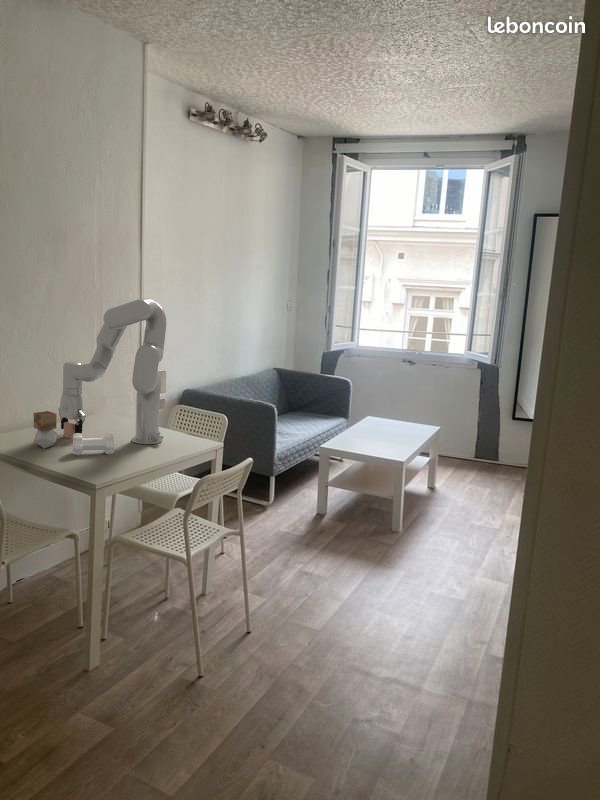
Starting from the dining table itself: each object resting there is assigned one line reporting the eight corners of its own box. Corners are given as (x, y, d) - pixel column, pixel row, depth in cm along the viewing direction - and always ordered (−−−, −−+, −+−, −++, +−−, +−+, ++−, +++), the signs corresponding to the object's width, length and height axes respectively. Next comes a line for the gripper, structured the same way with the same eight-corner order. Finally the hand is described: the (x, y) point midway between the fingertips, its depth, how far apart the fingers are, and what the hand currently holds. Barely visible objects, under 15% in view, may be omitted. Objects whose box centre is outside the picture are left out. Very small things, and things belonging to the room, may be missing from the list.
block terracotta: (81, 436, 266) (81, 423, 265) (70, 438, 262) (70, 424, 261) (74, 434, 269) (74, 420, 268) (63, 436, 265) (63, 422, 264)
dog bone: (112, 450, 250) (112, 430, 248) (114, 456, 242) (114, 436, 240) (72, 451, 244) (72, 431, 243) (73, 457, 236) (73, 437, 235)
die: (60, 449, 247) (63, 427, 251) (43, 442, 240) (46, 420, 244) (44, 454, 250) (47, 431, 254) (27, 447, 243) (31, 424, 247)
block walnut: (56, 428, 247) (56, 413, 246) (42, 430, 242) (42, 415, 241) (47, 425, 250) (47, 411, 249) (33, 427, 245) (33, 412, 244)
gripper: (52, 388, 264) (51, 428, 267) (77, 395, 254) (76, 436, 257) (67, 387, 270) (66, 425, 273) (92, 394, 260) (91, 434, 263)
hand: (71, 430), depth 265 cm, fingers open, 9 cm apart
